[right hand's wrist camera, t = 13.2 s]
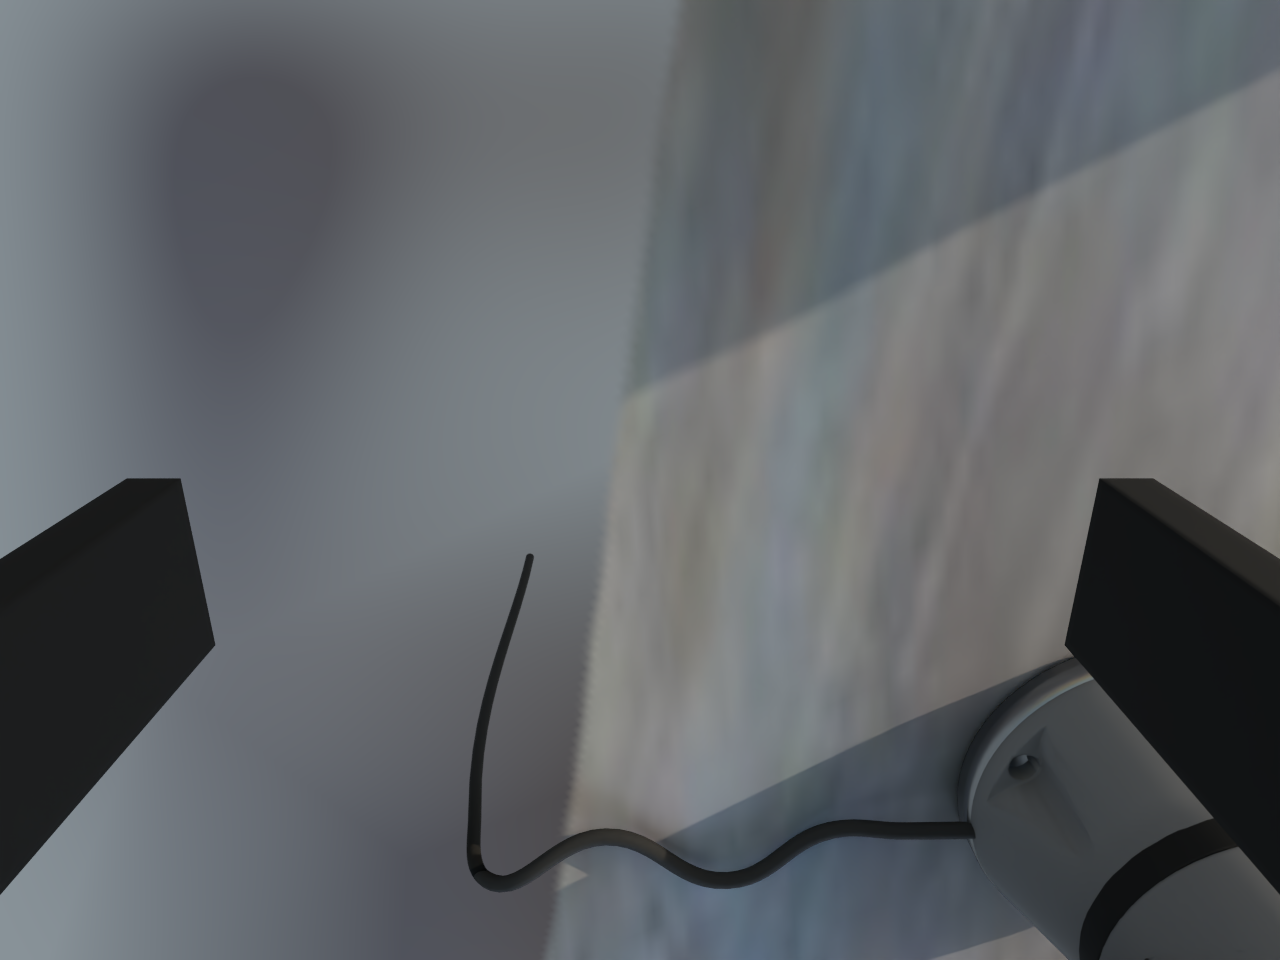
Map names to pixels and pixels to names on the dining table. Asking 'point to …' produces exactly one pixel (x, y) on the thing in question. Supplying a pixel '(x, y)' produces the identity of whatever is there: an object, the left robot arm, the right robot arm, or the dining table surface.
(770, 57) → the dining table surface
